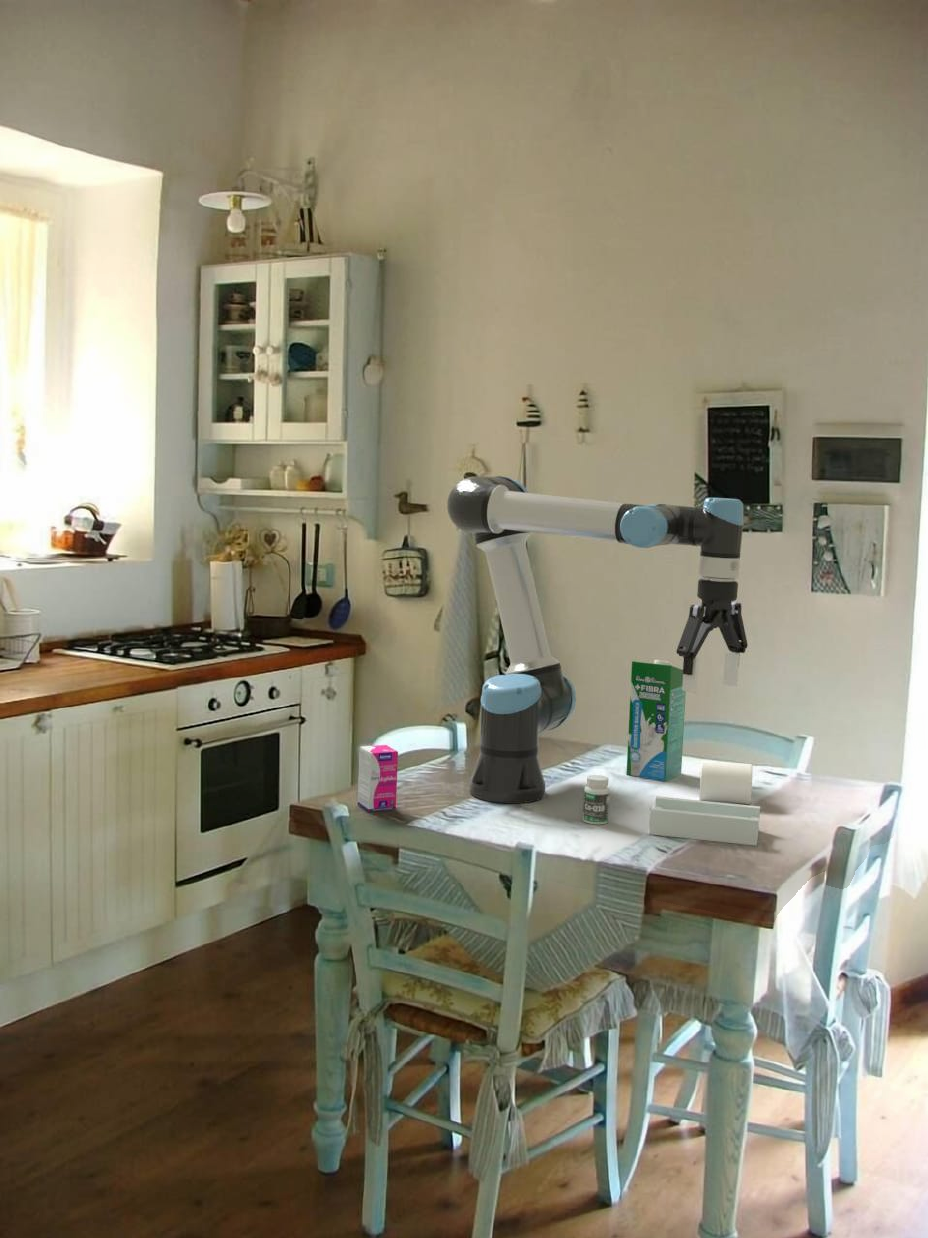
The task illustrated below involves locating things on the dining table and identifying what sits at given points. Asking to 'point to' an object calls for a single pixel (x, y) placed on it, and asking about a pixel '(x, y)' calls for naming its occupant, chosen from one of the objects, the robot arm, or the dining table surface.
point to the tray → (705, 820)
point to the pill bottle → (596, 800)
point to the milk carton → (655, 720)
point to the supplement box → (377, 778)
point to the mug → (726, 782)
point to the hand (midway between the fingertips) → (709, 688)
